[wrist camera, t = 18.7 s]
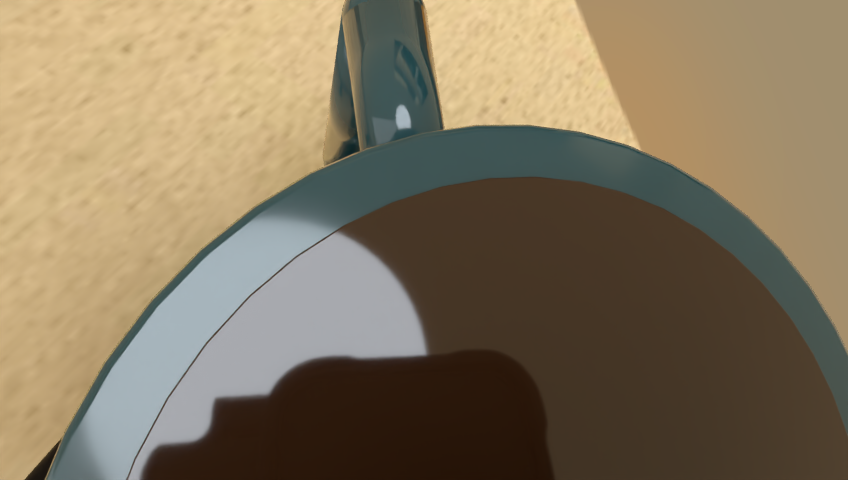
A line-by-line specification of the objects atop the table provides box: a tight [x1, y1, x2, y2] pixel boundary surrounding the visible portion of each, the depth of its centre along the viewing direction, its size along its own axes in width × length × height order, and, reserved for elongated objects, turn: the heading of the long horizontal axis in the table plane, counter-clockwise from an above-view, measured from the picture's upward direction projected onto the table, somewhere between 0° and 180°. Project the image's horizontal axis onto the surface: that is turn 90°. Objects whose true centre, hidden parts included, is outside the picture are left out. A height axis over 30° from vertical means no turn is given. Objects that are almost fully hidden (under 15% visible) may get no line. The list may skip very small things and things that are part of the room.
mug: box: [45, 0, 848, 480], centre depth 10 cm, size 10×7×13 cm
